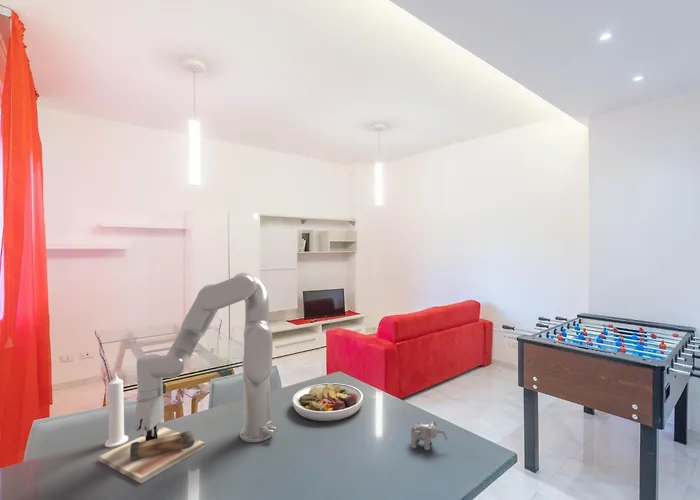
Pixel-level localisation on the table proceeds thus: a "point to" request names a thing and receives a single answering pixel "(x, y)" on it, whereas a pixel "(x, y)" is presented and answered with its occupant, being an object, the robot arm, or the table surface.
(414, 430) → the gray elephant figurine
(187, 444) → the bar
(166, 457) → the ash board
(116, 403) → the candle
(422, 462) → the table surface
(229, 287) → the robot arm
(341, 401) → the bowl
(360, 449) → the table surface
